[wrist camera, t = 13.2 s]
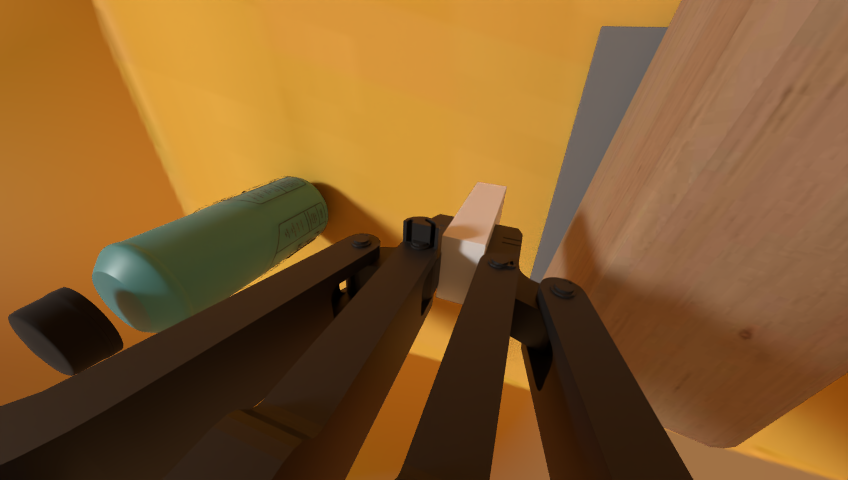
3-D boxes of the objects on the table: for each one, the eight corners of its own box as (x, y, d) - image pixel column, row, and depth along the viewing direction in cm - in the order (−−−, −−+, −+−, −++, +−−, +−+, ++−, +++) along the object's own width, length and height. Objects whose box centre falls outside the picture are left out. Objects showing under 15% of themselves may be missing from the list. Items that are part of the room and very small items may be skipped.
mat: (601, 27, 17) (602, 26, 17) (1241, 39, 11) (1263, 38, 11) (526, 288, 26) (526, 291, 26) (857, 370, 21) (862, 375, 20)
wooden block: (1635, -103, 5) (731, 464, 15) (939, 14, 13) (665, 328, 23) (859, -143, 7) (533, 381, 17) (685, -19, 15) (537, 283, 25)
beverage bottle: (296, 156, 29) (-52, 261, 12) (350, 199, 29) (81, 364, 12) (278, 204, 32) (-6, 337, 16) (327, 243, 32) (96, 415, 16)
